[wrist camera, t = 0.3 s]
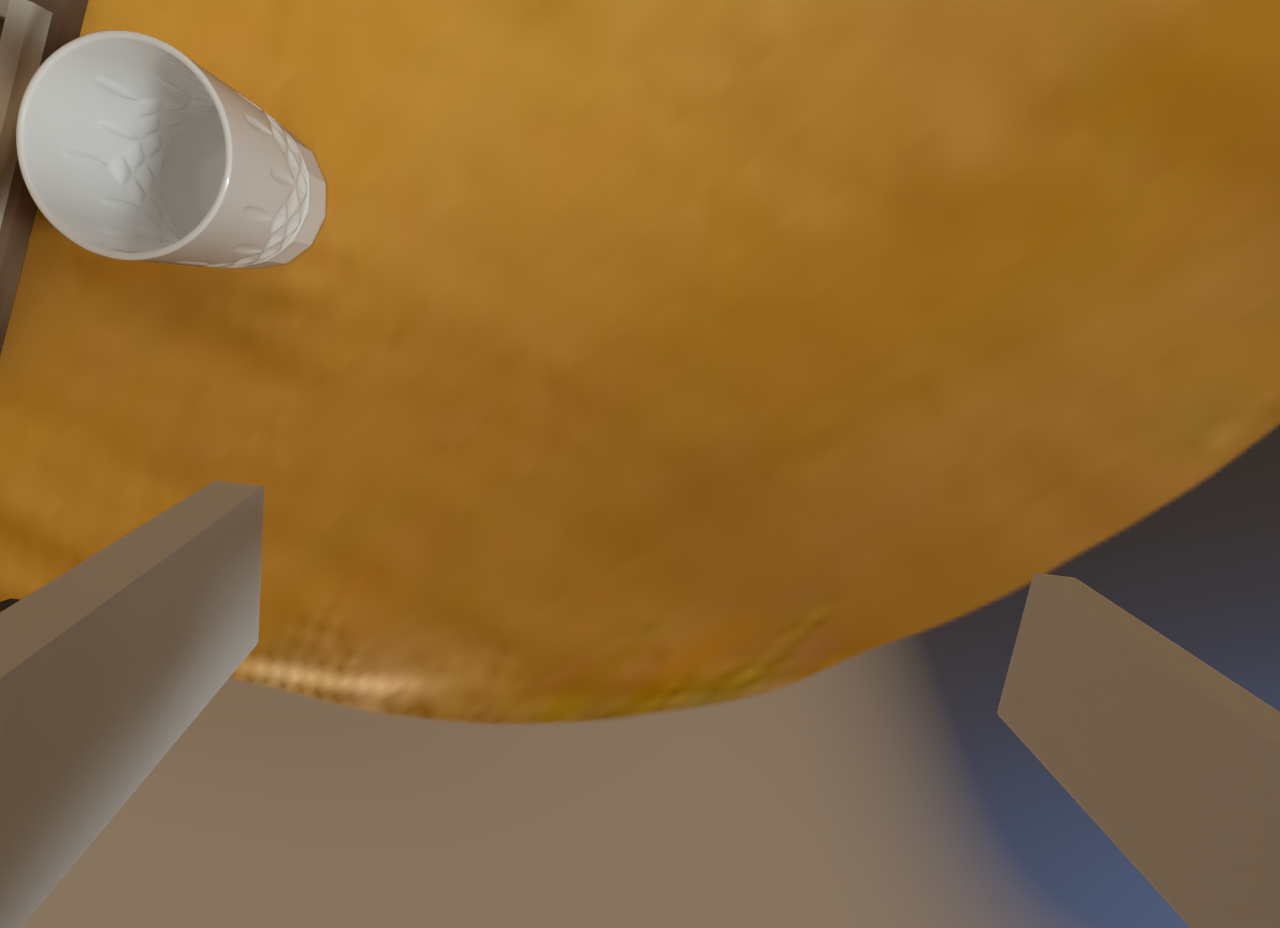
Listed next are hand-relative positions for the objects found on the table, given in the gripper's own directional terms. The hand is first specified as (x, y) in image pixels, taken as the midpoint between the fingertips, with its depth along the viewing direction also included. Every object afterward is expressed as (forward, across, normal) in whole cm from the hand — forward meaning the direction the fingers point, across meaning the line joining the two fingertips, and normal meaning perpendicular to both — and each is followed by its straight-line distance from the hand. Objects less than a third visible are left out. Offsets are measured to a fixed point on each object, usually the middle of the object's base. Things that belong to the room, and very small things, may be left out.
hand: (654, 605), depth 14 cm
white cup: (+30, -17, +6) cm, 35 cm away
